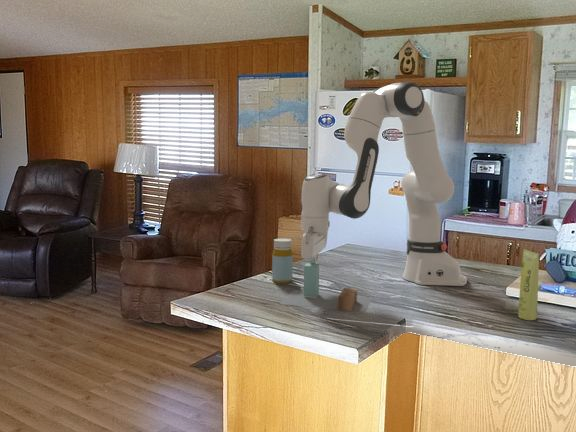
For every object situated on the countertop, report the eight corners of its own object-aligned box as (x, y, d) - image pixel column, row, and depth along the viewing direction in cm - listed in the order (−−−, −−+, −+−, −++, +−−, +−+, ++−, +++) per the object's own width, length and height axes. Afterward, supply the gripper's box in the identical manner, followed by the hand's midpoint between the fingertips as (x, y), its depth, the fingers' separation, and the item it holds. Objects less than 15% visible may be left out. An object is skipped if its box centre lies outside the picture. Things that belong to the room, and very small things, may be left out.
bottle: (290, 285, 198) (290, 242, 196) (270, 283, 200) (270, 241, 198) (294, 280, 205) (294, 238, 203) (274, 278, 207) (275, 237, 204)
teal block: (318, 294, 186) (319, 264, 184) (315, 297, 182) (316, 266, 181) (306, 293, 187) (307, 263, 185) (303, 296, 183) (304, 265, 182)
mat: (372, 298, 183) (372, 297, 183) (365, 313, 168) (365, 312, 168) (293, 291, 190) (293, 290, 190) (279, 305, 175) (279, 304, 175)
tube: (513, 317, 165) (517, 250, 163) (519, 313, 169) (523, 248, 166) (533, 322, 162) (538, 253, 159) (539, 317, 166) (544, 251, 163)
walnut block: (357, 288, 178) (351, 297, 168) (356, 301, 178) (351, 310, 169) (344, 287, 179) (338, 296, 169) (344, 300, 180) (338, 309, 170)
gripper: (316, 230, 174) (315, 275, 176) (330, 221, 194) (329, 261, 196) (296, 229, 176) (295, 273, 178) (312, 220, 196) (311, 260, 197)
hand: (313, 267), depth 187 cm, fingers closed
